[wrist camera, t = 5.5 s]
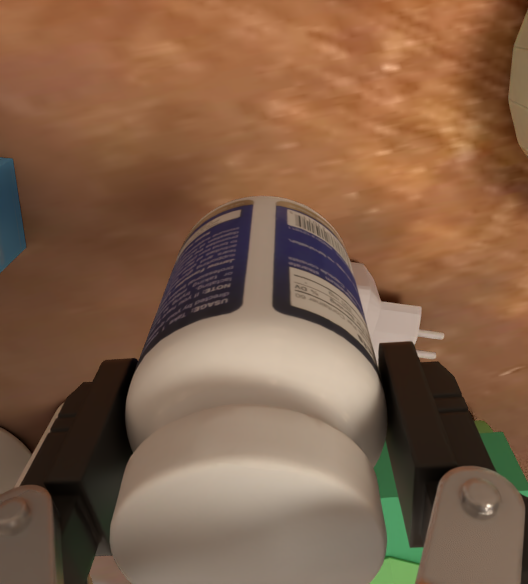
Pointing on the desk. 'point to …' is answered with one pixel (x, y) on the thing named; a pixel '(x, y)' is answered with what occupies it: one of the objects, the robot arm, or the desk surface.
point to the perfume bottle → (9, 215)
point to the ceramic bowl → (520, 86)
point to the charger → (389, 316)
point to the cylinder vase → (11, 460)
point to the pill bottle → (255, 412)
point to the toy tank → (399, 556)
